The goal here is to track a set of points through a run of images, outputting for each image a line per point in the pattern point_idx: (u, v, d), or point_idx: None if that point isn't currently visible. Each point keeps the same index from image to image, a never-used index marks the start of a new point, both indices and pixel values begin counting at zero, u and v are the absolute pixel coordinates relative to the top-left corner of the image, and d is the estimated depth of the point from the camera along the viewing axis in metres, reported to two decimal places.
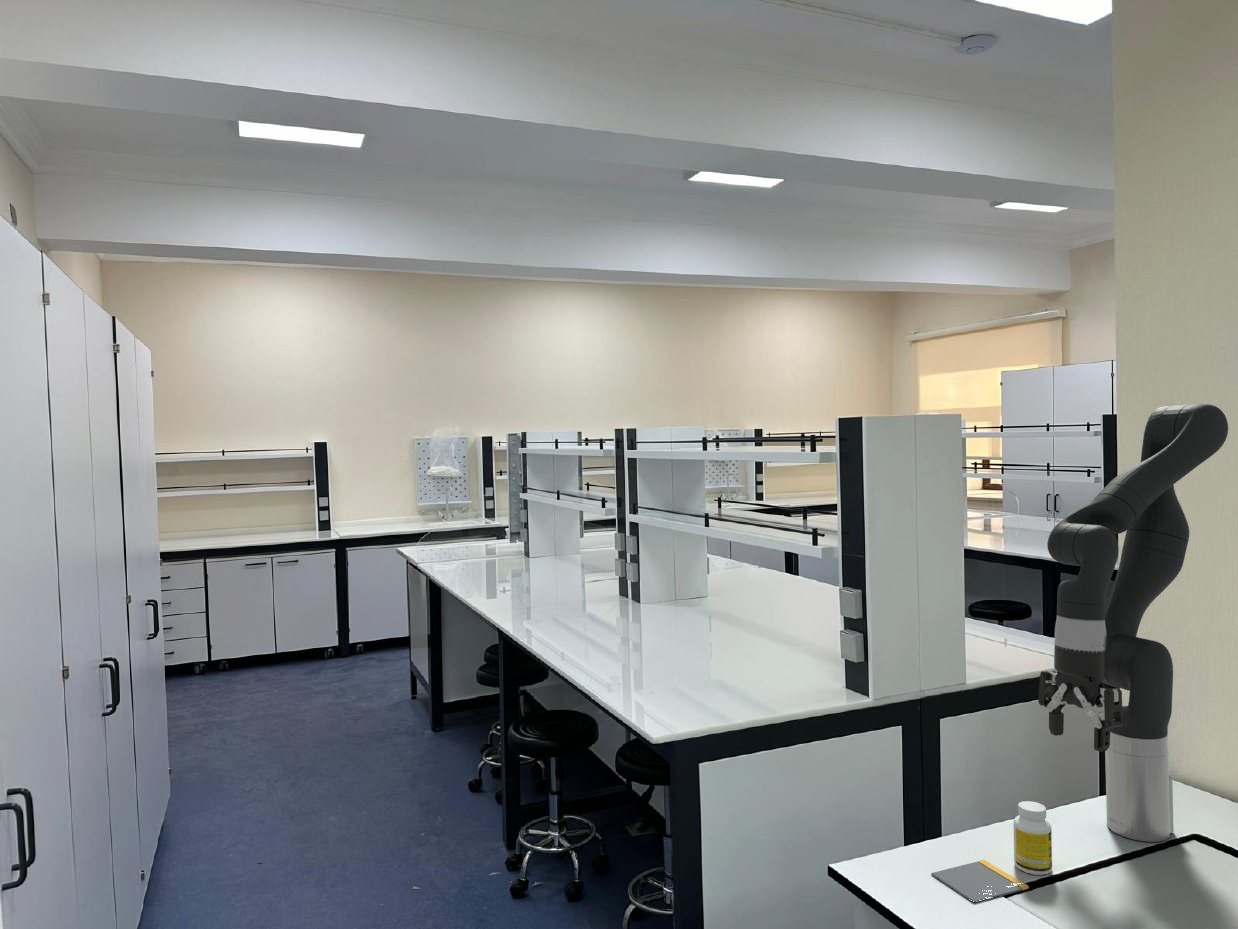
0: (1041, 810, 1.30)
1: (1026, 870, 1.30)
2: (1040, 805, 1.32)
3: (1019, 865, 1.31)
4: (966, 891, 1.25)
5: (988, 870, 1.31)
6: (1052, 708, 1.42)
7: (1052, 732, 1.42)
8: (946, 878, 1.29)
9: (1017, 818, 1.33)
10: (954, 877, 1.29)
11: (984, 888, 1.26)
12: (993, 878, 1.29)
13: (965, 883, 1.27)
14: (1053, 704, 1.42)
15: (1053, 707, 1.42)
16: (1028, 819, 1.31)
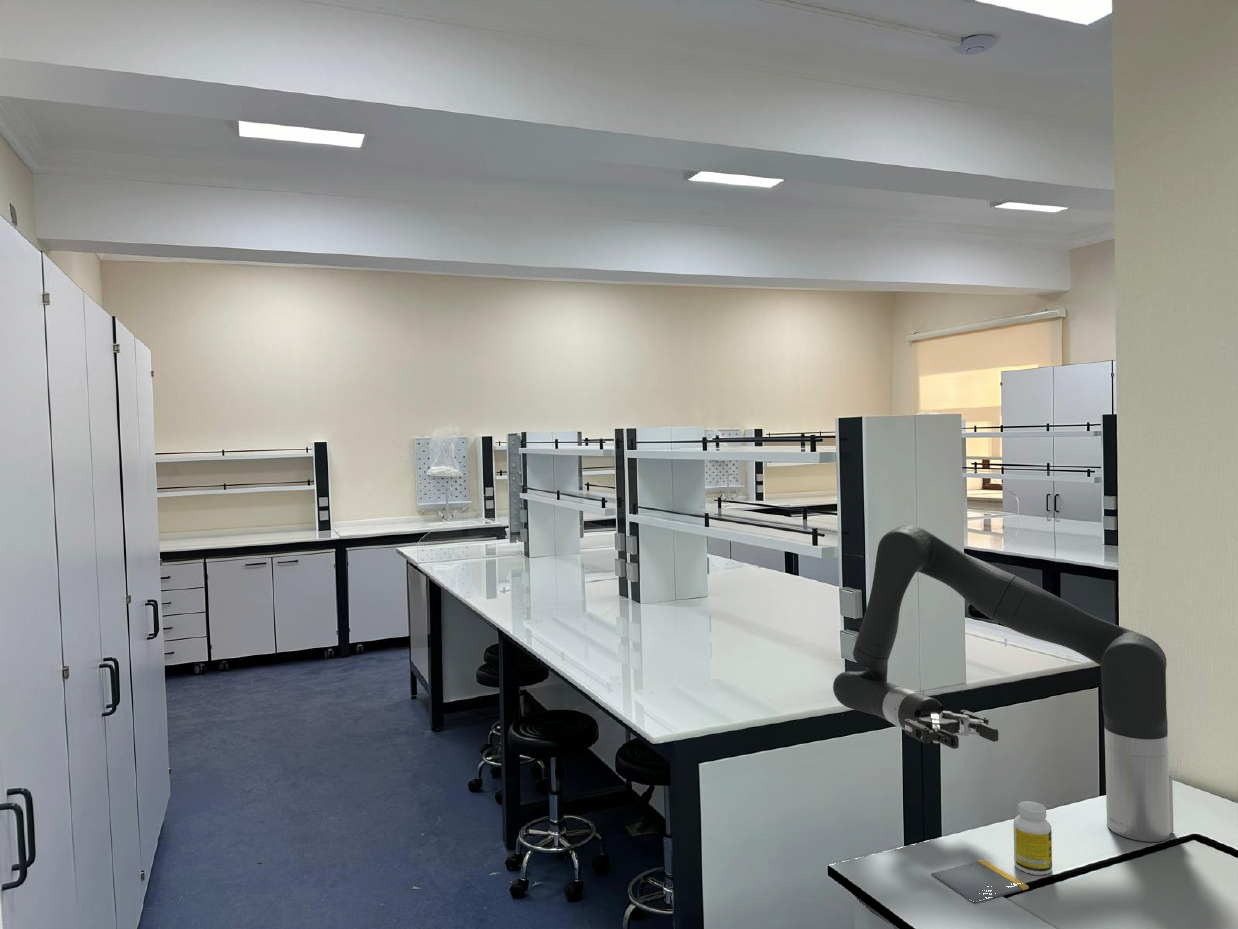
0: (1041, 810, 1.30)
1: (1026, 870, 1.30)
2: (1040, 805, 1.32)
3: (1019, 865, 1.31)
4: (966, 891, 1.25)
5: (988, 870, 1.31)
6: (976, 734, 1.48)
7: (994, 741, 1.44)
8: (946, 878, 1.29)
9: (1017, 818, 1.33)
10: (954, 877, 1.29)
11: (984, 888, 1.26)
12: (993, 878, 1.29)
13: (965, 883, 1.27)
14: (972, 733, 1.49)
15: (974, 734, 1.48)
16: (1028, 819, 1.31)
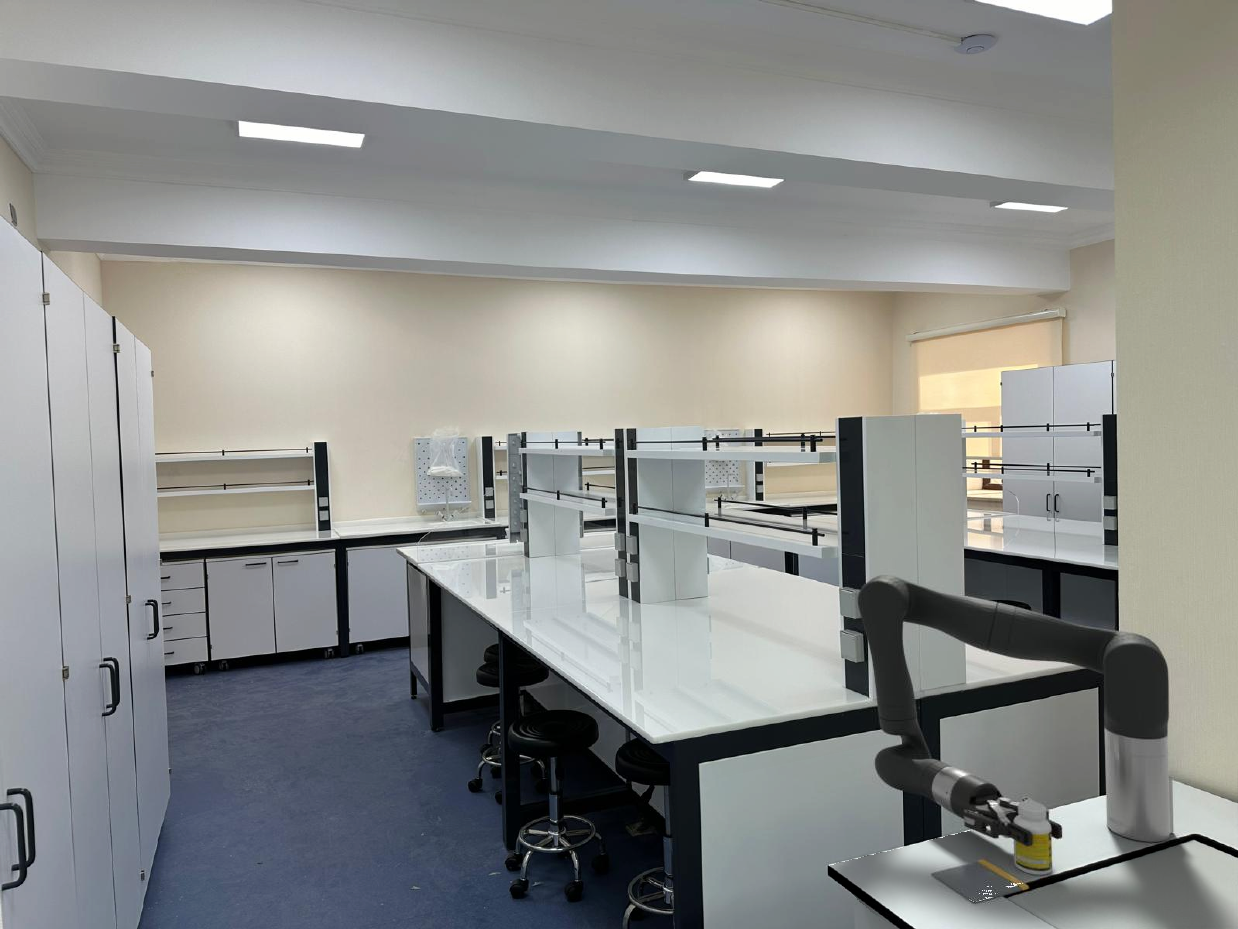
0: (1041, 810, 1.30)
1: (1026, 870, 1.30)
2: (1040, 805, 1.32)
3: (1019, 865, 1.31)
4: (966, 891, 1.25)
5: (988, 870, 1.31)
6: None
7: (1057, 838, 1.31)
8: (946, 878, 1.29)
9: (1017, 818, 1.33)
10: (954, 877, 1.29)
11: (984, 888, 1.26)
12: (993, 878, 1.29)
13: (965, 883, 1.27)
14: None
15: None
16: (1028, 819, 1.31)
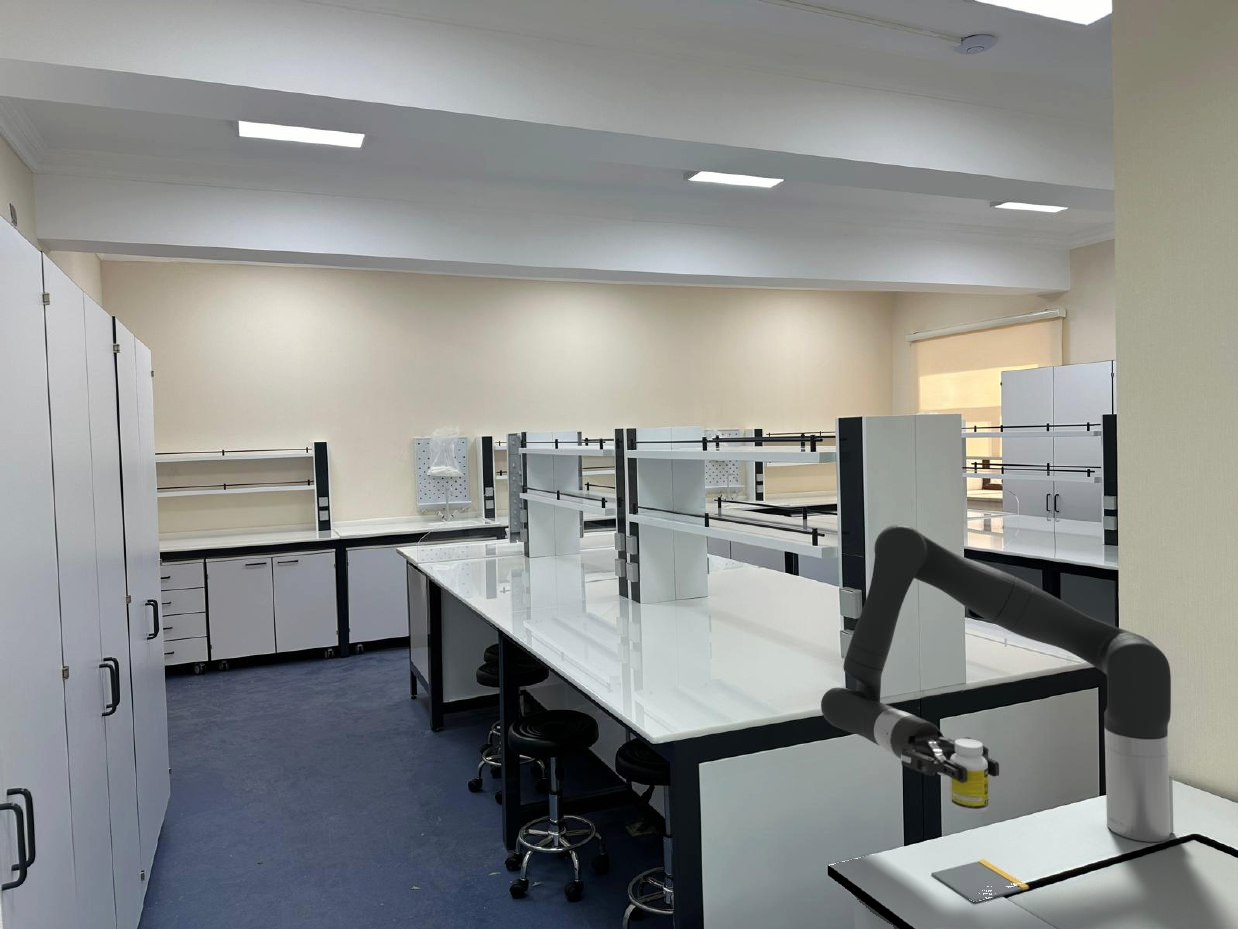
0: (977, 746, 1.26)
1: (961, 808, 1.26)
2: (977, 742, 1.28)
3: (955, 803, 1.27)
4: (966, 891, 1.25)
5: (988, 870, 1.31)
6: None
7: None
8: (946, 878, 1.29)
9: (953, 755, 1.29)
10: (954, 877, 1.29)
11: (984, 888, 1.26)
12: (993, 878, 1.29)
13: (965, 883, 1.27)
14: None
15: None
16: (964, 756, 1.27)
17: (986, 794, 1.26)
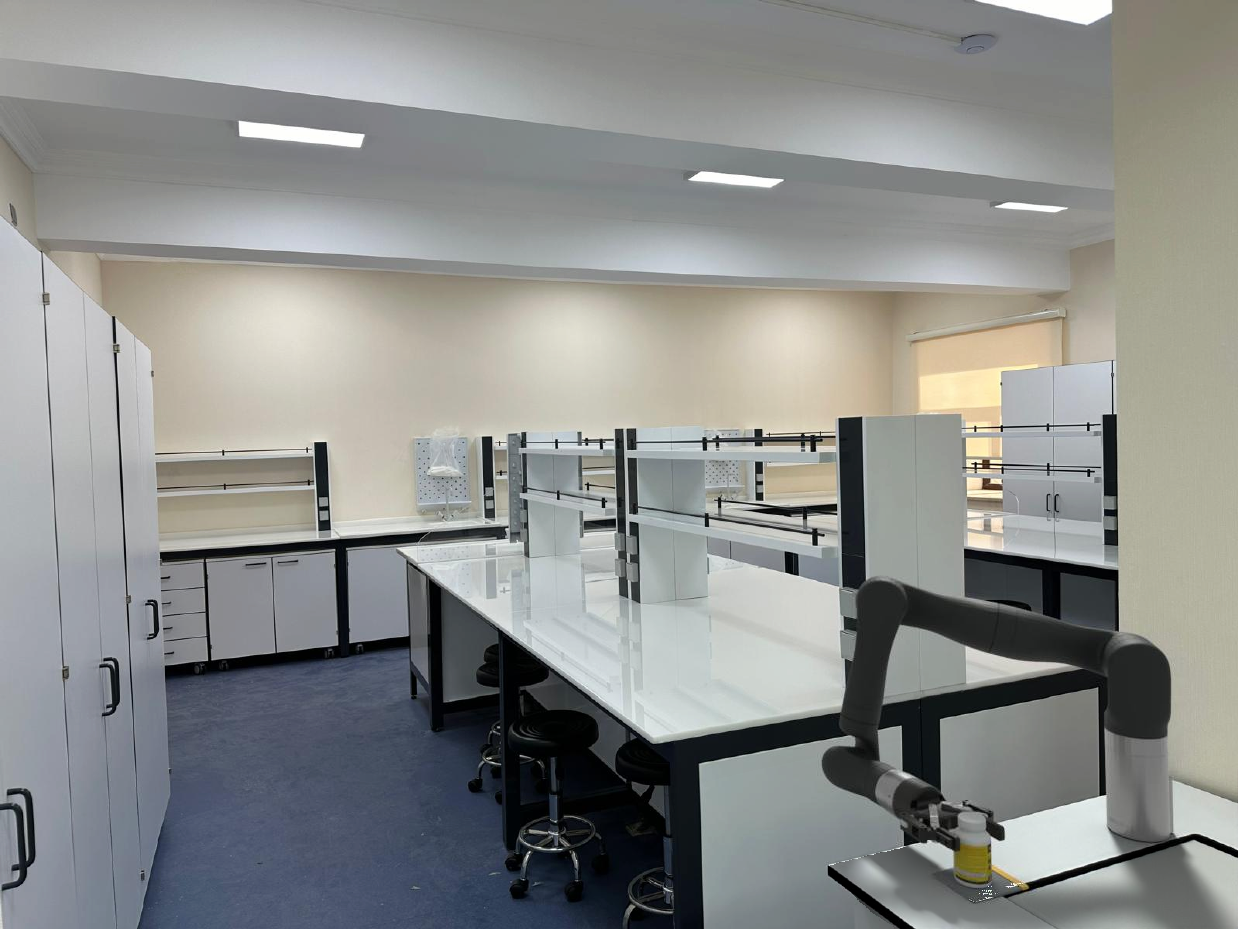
0: (980, 821, 1.27)
1: (965, 883, 1.26)
2: (980, 816, 1.28)
3: (958, 878, 1.27)
4: (966, 891, 1.25)
5: None
6: None
7: (999, 840, 1.28)
8: (946, 878, 1.29)
9: (957, 829, 1.29)
10: None
11: (984, 888, 1.26)
12: (993, 878, 1.29)
13: None
14: None
15: None
16: (967, 831, 1.27)
17: (990, 869, 1.26)
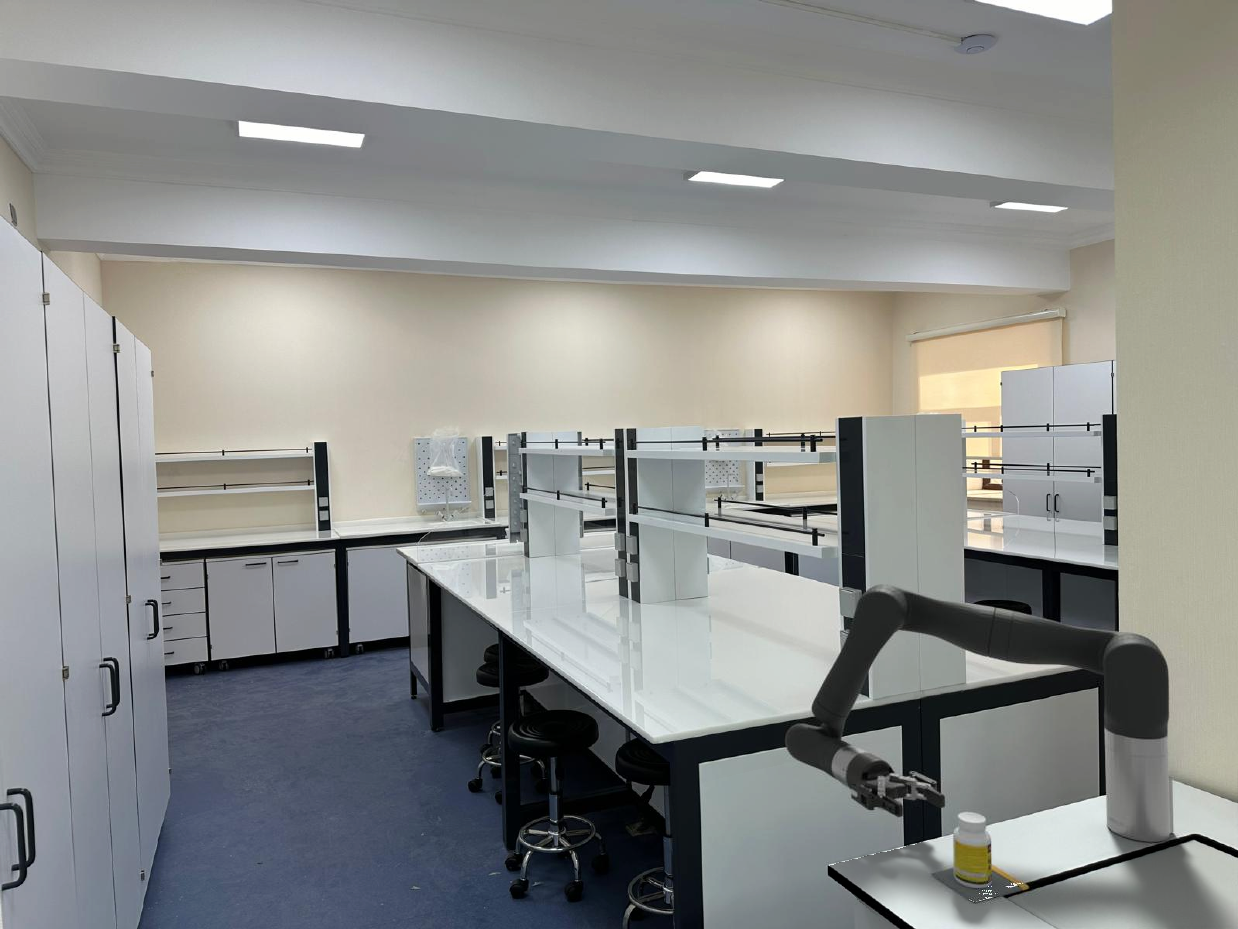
0: (980, 821, 1.26)
1: (965, 883, 1.26)
2: (980, 816, 1.28)
3: (958, 878, 1.27)
4: (966, 891, 1.25)
5: None
6: None
7: (940, 807, 1.40)
8: (946, 878, 1.29)
9: (957, 829, 1.29)
10: (954, 877, 1.29)
11: (984, 888, 1.26)
12: (993, 878, 1.29)
13: None
14: None
15: (922, 798, 1.44)
16: (967, 831, 1.27)
17: (990, 869, 1.26)
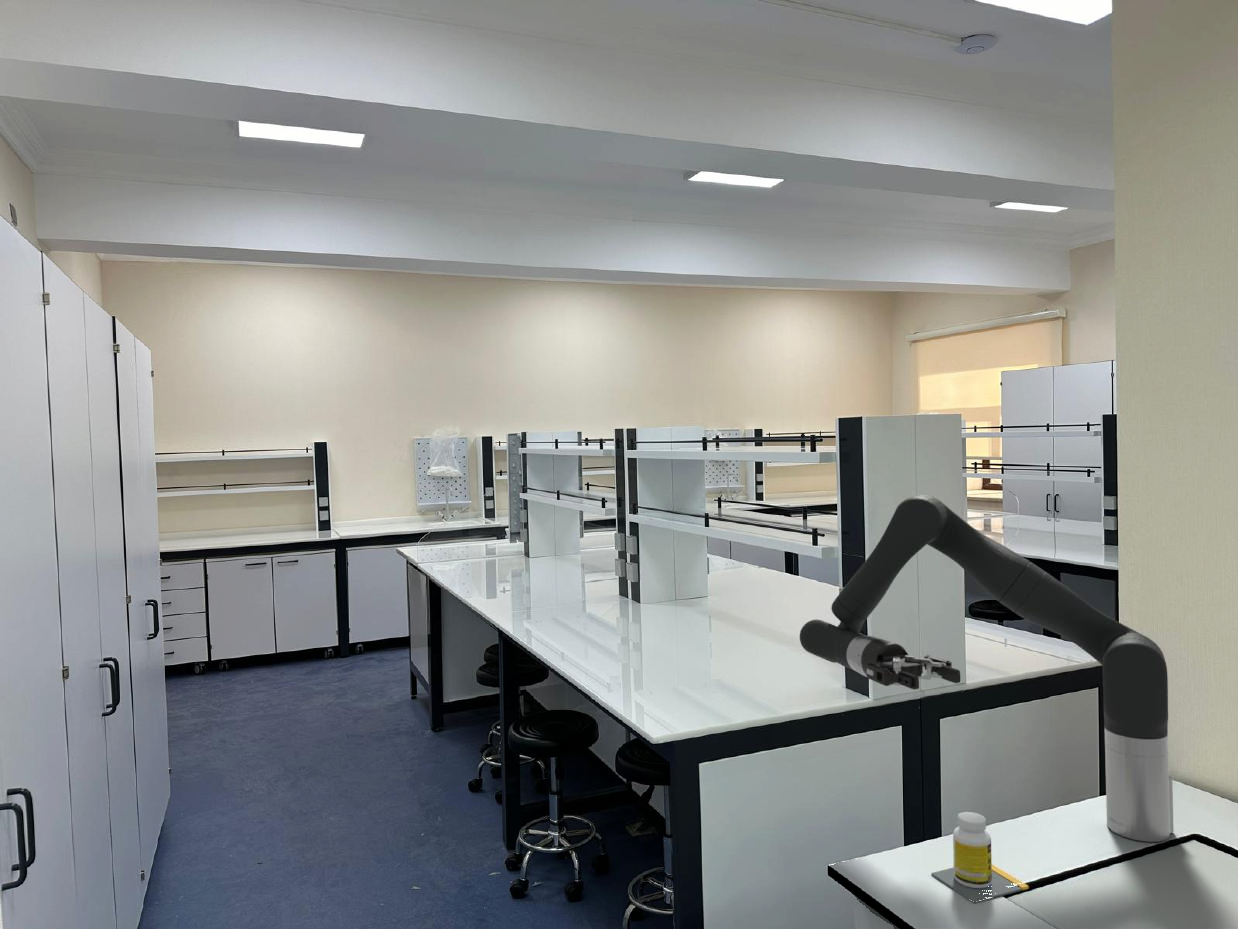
0: (980, 821, 1.26)
1: (965, 883, 1.26)
2: (980, 816, 1.28)
3: (958, 878, 1.27)
4: (966, 891, 1.25)
5: None
6: (939, 677, 1.45)
7: None
8: (946, 878, 1.29)
9: (957, 829, 1.29)
10: None
11: (984, 888, 1.26)
12: (993, 878, 1.29)
13: None
14: None
15: (937, 677, 1.45)
16: (967, 831, 1.27)
17: (990, 869, 1.26)
